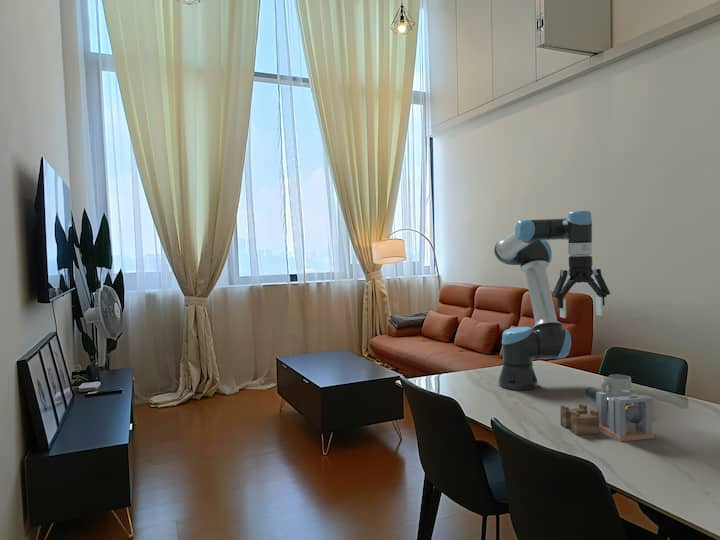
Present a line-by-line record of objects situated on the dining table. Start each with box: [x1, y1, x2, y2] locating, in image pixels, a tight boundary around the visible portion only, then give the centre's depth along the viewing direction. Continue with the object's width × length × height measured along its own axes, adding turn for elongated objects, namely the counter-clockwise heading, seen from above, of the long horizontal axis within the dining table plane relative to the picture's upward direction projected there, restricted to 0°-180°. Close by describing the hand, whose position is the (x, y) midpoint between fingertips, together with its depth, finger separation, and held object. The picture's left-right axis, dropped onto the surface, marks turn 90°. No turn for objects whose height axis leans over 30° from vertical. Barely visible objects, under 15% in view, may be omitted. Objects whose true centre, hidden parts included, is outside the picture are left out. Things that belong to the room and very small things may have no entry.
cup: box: [600, 373, 632, 397], centre depth 179 cm, size 7×10×9 cm
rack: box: [559, 402, 600, 436], centre depth 155 cm, size 9×7×6 cm
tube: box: [584, 386, 643, 424], centre depth 155 cm, size 22×5×5 cm, turn 7°
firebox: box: [596, 390, 656, 442], centre depth 154 cm, size 19×11×12 cm, turn 7°
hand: (581, 316), depth 174 cm, fingers open, 13 cm apart
